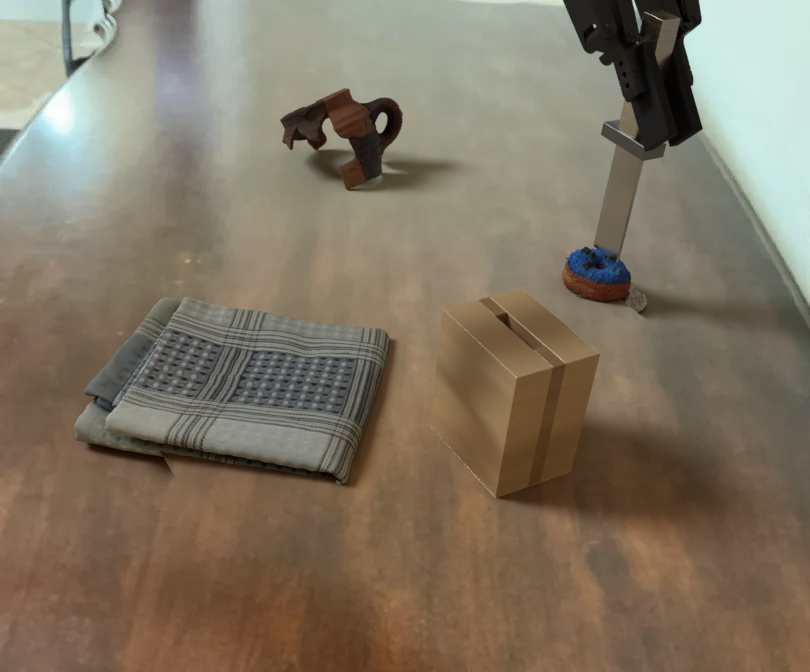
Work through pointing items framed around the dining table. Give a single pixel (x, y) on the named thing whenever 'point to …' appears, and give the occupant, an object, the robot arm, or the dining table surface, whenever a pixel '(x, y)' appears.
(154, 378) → the dish towel
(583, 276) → the dessert
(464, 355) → the knife block
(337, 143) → the dining table surface
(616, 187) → the knife
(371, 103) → the brown wooden irregular piece
